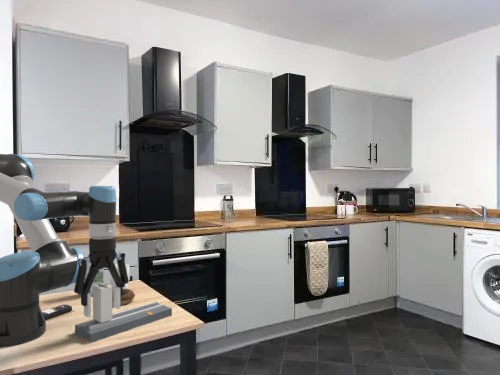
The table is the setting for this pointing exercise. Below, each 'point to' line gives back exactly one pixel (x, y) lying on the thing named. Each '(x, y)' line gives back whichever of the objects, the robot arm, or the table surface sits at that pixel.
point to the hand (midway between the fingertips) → (102, 311)
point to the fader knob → (102, 303)
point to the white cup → (119, 275)
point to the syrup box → (97, 279)
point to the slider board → (123, 321)
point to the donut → (125, 297)
